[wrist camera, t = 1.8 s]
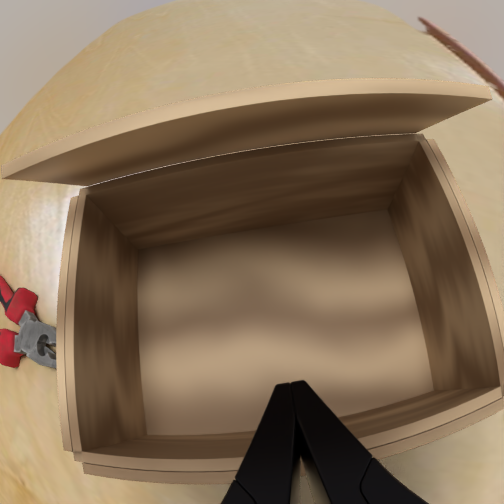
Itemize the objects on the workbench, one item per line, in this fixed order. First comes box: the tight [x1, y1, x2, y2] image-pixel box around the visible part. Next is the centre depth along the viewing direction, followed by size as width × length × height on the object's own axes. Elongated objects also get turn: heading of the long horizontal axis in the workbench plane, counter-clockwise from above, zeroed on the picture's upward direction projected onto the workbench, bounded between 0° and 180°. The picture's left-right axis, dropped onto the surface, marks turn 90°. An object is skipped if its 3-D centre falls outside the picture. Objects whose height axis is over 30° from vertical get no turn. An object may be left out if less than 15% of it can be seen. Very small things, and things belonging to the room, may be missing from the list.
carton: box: [56, 134, 504, 484], centre depth 18 cm, size 17×23×9 cm
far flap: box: [1, 78, 492, 186], centre depth 13 cm, size 8×21×1 cm
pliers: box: [0, 276, 57, 368], centre depth 24 cm, size 3×9×22 cm
